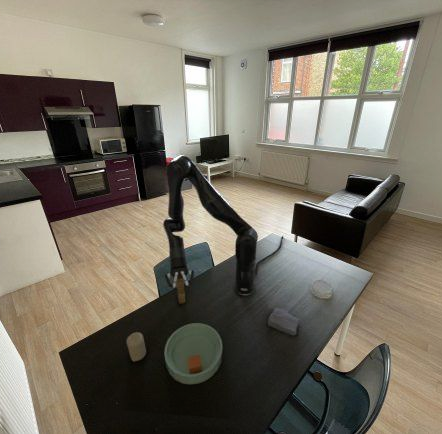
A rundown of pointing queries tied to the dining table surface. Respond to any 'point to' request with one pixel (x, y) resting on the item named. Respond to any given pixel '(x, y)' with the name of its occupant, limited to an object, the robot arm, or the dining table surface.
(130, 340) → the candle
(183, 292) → the stirrer
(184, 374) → the bowl
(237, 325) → the dining table surface
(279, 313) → the stone block
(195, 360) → the block
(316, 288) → the coaster
